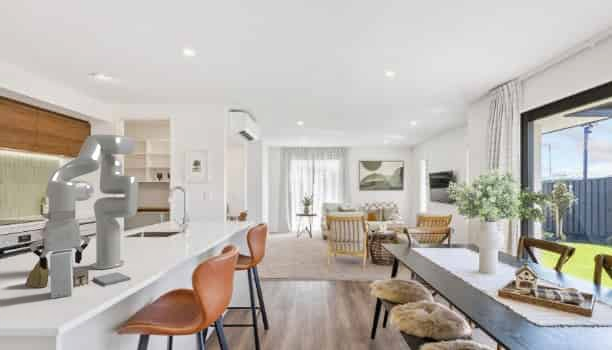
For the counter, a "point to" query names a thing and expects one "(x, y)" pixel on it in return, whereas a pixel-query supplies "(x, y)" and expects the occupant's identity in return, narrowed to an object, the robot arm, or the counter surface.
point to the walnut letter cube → (80, 277)
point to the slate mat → (111, 278)
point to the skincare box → (61, 273)
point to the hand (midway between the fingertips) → (61, 265)
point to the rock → (38, 277)
